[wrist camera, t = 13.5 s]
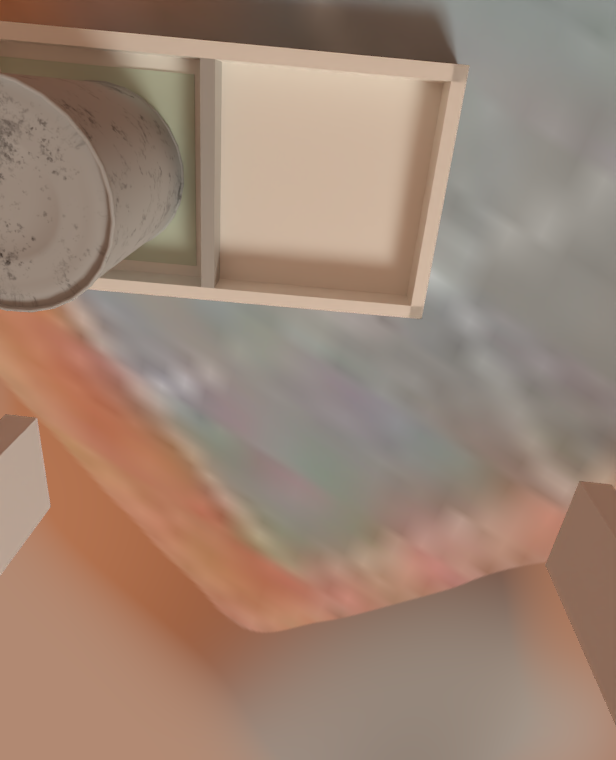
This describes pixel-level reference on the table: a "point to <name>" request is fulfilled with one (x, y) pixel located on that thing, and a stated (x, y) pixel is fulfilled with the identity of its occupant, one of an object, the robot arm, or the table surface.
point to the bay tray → (278, 165)
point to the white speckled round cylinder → (77, 185)
